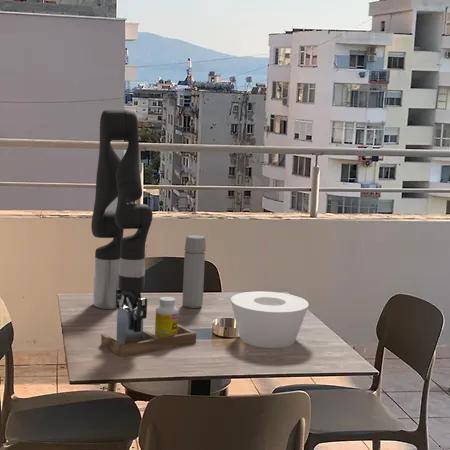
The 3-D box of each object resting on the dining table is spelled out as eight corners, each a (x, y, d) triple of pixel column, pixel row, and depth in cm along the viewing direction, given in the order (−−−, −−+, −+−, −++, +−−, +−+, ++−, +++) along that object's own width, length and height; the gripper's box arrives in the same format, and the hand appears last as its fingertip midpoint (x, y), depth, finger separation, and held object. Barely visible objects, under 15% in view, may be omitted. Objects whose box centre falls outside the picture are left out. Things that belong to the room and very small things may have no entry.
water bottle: (203, 309, 254) (206, 239, 250) (180, 308, 254) (183, 238, 250) (204, 302, 263) (207, 234, 259) (182, 301, 263) (185, 233, 259)
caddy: (101, 344, 212) (101, 334, 211) (174, 331, 227) (174, 322, 227) (121, 356, 203) (121, 346, 202) (196, 342, 218) (196, 332, 218)
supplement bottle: (173, 344, 215) (175, 302, 213) (151, 342, 216) (153, 300, 214) (179, 337, 222) (181, 297, 220) (158, 335, 223) (159, 294, 221)
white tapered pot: (217, 343, 218) (219, 305, 216) (243, 323, 240) (245, 287, 239) (295, 356, 210) (297, 316, 208) (314, 334, 233) (316, 297, 231)
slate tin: (116, 344, 213) (117, 306, 211) (132, 341, 216) (133, 303, 214) (126, 350, 208) (127, 310, 206) (142, 346, 212) (143, 308, 210)
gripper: (108, 269, 212) (106, 323, 214) (133, 279, 201) (131, 336, 203) (130, 266, 216) (129, 320, 219) (156, 277, 205) (154, 332, 208)
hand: (130, 328), depth 211 cm, fingers open, 7 cm apart
